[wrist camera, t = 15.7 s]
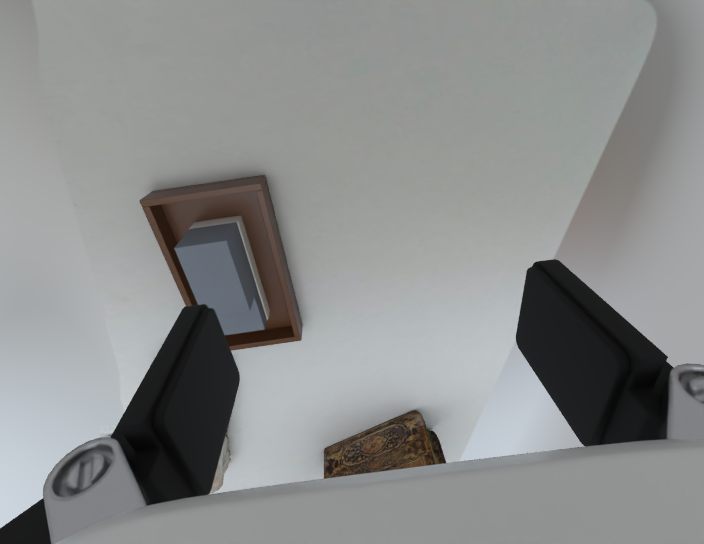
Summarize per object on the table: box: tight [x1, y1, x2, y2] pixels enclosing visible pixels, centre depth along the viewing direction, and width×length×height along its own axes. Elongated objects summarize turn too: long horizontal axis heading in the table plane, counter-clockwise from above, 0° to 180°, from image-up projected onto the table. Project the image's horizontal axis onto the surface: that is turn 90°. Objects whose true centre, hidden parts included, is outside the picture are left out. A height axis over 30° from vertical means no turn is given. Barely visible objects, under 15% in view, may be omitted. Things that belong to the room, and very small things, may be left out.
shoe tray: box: [140, 175, 302, 350], centre depth 35 cm, size 17×10×3 cm, turn 7°
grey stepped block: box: [174, 216, 270, 335], centre depth 34 cm, size 11×4×6 cm, turn 7°
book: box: [324, 411, 446, 479], centre depth 41 cm, size 16×6×25 cm, turn 120°
